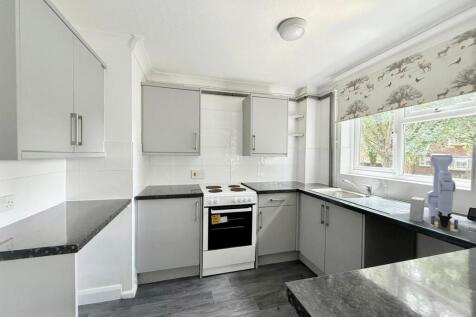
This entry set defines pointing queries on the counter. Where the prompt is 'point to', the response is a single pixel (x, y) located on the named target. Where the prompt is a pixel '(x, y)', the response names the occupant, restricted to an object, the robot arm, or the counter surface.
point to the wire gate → (454, 222)
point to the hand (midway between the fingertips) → (444, 225)
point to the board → (444, 229)
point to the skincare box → (417, 209)
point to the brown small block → (443, 227)
